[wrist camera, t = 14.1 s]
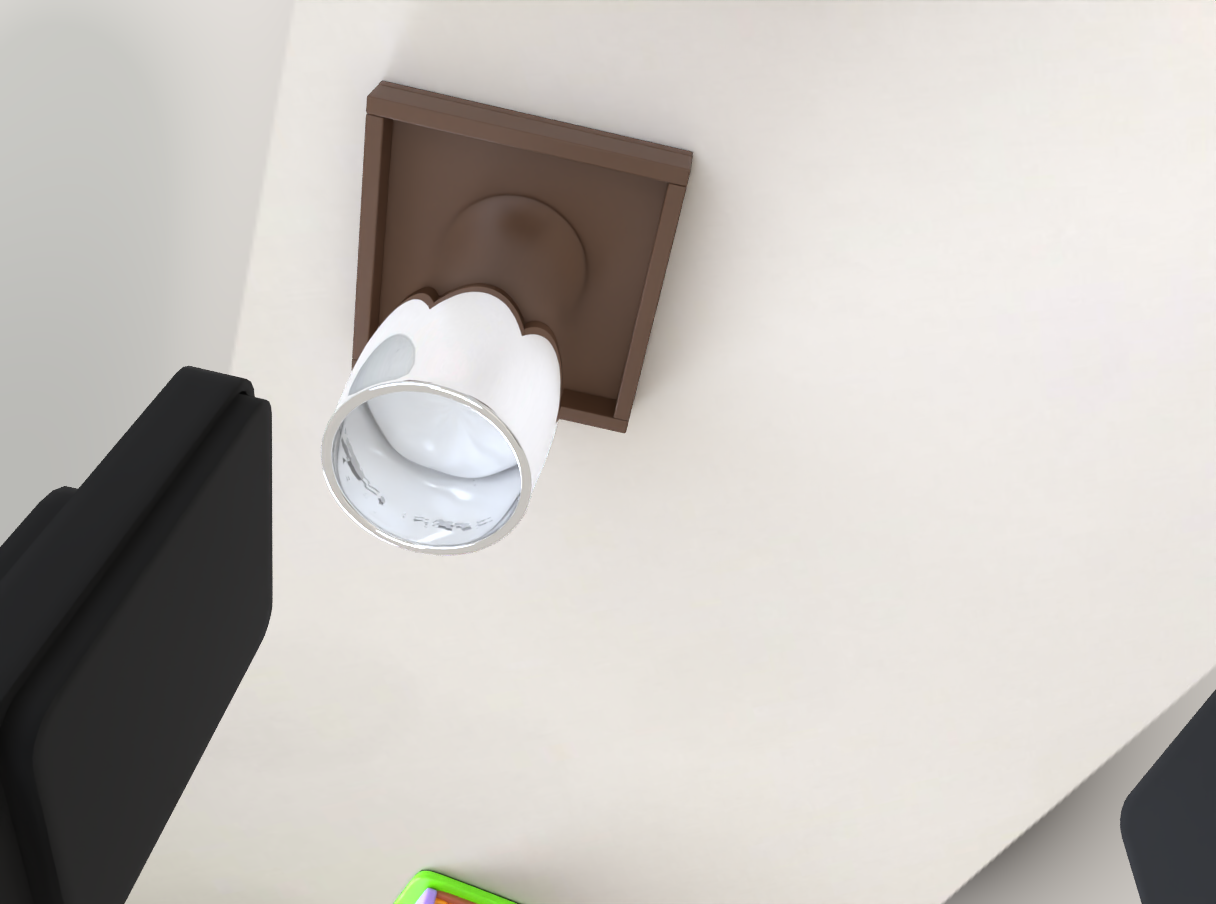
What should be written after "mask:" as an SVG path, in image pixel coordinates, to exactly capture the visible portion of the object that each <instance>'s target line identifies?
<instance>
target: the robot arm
mask: <svg viewBox="0 0 1216 904" xmlns="http://www.w3.org/2000/svg"><path fill="white" fill-rule="evenodd" d="M271 611H272V412H271V405H270V403H269V401H267V400H265V399H260V398H256V397H255V396H254V388H253V386H252V383H251V382H250V381H249V380H247V379H244V378H240V377H236V376H231V375H227V374H222V373H218V372H214V371H209V370H205V369H201V368H196V367H192V366H187V367H183V368H182V369H180V370H179V371H178V372H177V373H176V374H175V375H174V376H173V378H172V379H171V380H170V381H169V382H168V383H167V385H166V386H165V387H164V388H163V389H162V391H161V392H160V393H159V394H158V395H157V396H156V398H155V399H154V400H153V401H152V402H151V404H150V405H149V406H148V407H147V408H146V409H145V411H144V412H143V413H142V414H141V415H140V417H139V418H138V419H137V420H136V421H135V422H134V424H133V425H132V426H131V427H130V428H129V430H128V431H127V432H126V433H125V434H124V436H123V437H122V438H121V439H120V440H119V441H118V443H117V444H116V445H115V446H114V447H113V449H112V450H111V451H110V452H109V453H108V454H107V456H106V457H105V458H104V459H103V460H102V461H101V463H100V464H99V465H98V466H97V468H96V469H95V470H94V471H93V472H92V473H91V474H90V476H89V477H88V478H87V479H86V480H85V482H84V483H83V484H82V485H81V486H80V487H79V489H76V488H71V487H67V486H64V487H61V488H59V489H56V490H53V491H52V492H51V493H50V494H49V495H47V496H46V497H45V498H44V499H43V500H42V501H41V502H39V504H38V505H37V506H36V507H35V508H34V509H33V510H32V512H31V513H30V514H29V515H28V516H27V517H26V518H25V519H24V521H23V522H22V523H21V524H20V525H19V526H18V527H17V529H16V530H15V531H14V532H13V533H12V534H11V536H10V537H9V538H8V539H7V540H6V541H5V542H4V543H3V545H2V546H1V547H0V904H124V903H125V901H126V899H127V898H128V896H129V894H130V892H131V890H132V888H133V886H134V884H135V882H136V880H137V879H138V877H139V875H140V873H141V871H142V869H143V867H144V865H145V863H146V861H147V859H148V858H149V856H150V854H151V852H152V850H153V848H154V846H155V844H156V842H157V840H158V839H159V837H160V835H161V833H162V831H163V829H164V827H165V825H166V823H167V821H168V819H169V818H170V816H171V814H172V812H173V810H174V808H175V806H176V804H177V802H178V800H179V799H180V797H181V795H182V793H183V791H184V789H185V787H186V785H187V783H188V781H189V779H190V778H191V776H192V774H193V772H194V770H195V768H196V766H197V764H198V762H199V760H200V759H201V757H202V755H203V753H204V751H205V749H206V747H207V745H208V743H209V741H210V739H211V738H212V736H213V734H214V732H215V730H216V728H217V726H218V724H219V722H220V720H221V718H222V717H223V715H224V713H225V711H226V709H227V707H228V705H229V703H230V701H231V699H232V698H233V696H234V694H235V692H236V690H237V688H238V686H239V684H240V682H241V680H242V678H243V677H244V675H245V673H246V671H247V669H248V667H249V665H250V663H251V661H252V659H253V658H254V656H255V654H256V652H257V650H258V648H259V646H260V644H261V642H262V640H263V638H264V636H265V633H266V630H267V627H268V624H269V620H270V616H271ZM1120 828H1121V834H1122V839H1123V842H1124V845H1125V849H1126V852H1127V856H1128V859H1129V862H1130V865H1131V869H1132V872H1133V876H1134V879H1135V882H1136V885H1137V889H1138V892H1139V896H1140V899H1141V902H1142V904H1216V690H1215V691H1214V692H1213V693H1212V695H1211V696H1210V697H1209V698H1208V699H1207V701H1206V702H1205V703H1204V704H1203V706H1202V707H1201V708H1200V709H1199V710H1198V712H1197V713H1196V714H1195V715H1194V717H1193V718H1192V719H1191V720H1190V721H1189V723H1188V724H1187V725H1186V726H1185V727H1184V729H1183V730H1182V731H1181V732H1180V733H1179V735H1178V736H1177V737H1176V738H1175V739H1174V741H1173V742H1172V743H1171V744H1170V745H1169V747H1168V748H1167V749H1166V750H1165V751H1164V753H1163V754H1162V755H1161V757H1160V758H1159V759H1158V760H1157V761H1156V762H1155V764H1154V765H1153V766H1152V767H1151V769H1150V770H1149V771H1148V772H1147V773H1146V775H1145V776H1144V777H1143V778H1142V779H1141V781H1140V782H1139V783H1138V784H1137V786H1136V787H1135V788H1134V789H1133V790H1132V791H1131V793H1130V794H1129V795H1128V797H1127V798H1126V800H1125V802H1124V805H1123V808H1122V811H1121V818H1120Z"/></svg>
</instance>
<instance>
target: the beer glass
mask: <svg viewBox="0 0 1216 904" xmlns="http://www.w3.org/2000/svg"><path fill="white" fill-rule="evenodd" d="M585 278H586V259H585V254H584V250H583V247H582V244H581V242H580V240H579V238H578V236H577V234H576V232H575V231H574V229H573V228H572V227H571V225H570V224H569V223H568V222H567V221H566V220H565V219H564V218H563V217H562V216H561V215H560V214H559V213H558V212H556V211H555V210H554V209H552V208H551V207H549V206H547V205H545V204H543V203H541V202H539V201H537V200H534V199H531V198H528V197H523V196H517V195H498V196H492V197H488V198H485V199H482V200H480V201H478V202H476V203H474V204H472V205H471V206H469V207H468V208H466V209H465V210H464V211H463V212H461V213H460V214H459V215H458V216H457V218H456V219H455V220H454V221H453V223H452V224H451V226H450V227H449V229H448V231H447V234H446V236H445V239H444V242H443V246H442V251H441V257H440V265H439V268H438V269H437V270H436V271H435V272H434V273H433V274H432V275H431V276H430V277H428V278H427V279H426V280H425V281H424V282H422V283H421V284H420V285H419V286H418V287H417V288H415V289H414V290H413V291H412V292H411V293H410V294H409V295H407V296H406V297H405V298H404V299H403V300H402V301H401V302H400V303H399V304H398V305H397V306H396V307H395V308H394V309H393V310H392V312H391V313H390V314H389V315H388V316H387V317H386V318H385V319H384V320H383V321H382V323H381V324H380V325H379V327H378V328H377V330H376V331H375V333H374V334H373V336H372V337H371V339H370V340H369V342H368V343H367V345H366V346H365V348H364V349H363V351H362V353H361V355H360V357H359V359H358V361H357V363H356V364H355V366H354V368H353V370H352V372H351V374H350V376H349V379H348V381H347V383H346V385H345V388H344V390H343V392H342V395H341V397H340V399H339V402H338V404H337V407H336V409H335V412H334V414H333V416H332V417H331V419H330V421H329V422H328V424H327V427H326V429H325V432H324V435H323V439H322V445H321V461H322V468H323V472H324V475H325V478H326V481H327V484H328V486H329V488H330V490H331V492H332V494H333V495H334V497H335V498H336V500H337V501H338V503H339V504H340V506H341V507H342V508H343V509H344V510H345V512H346V513H347V514H348V515H349V516H350V517H351V518H352V519H353V520H354V521H355V522H357V523H358V524H359V525H360V526H361V527H363V528H364V529H365V530H367V531H368V532H370V533H371V534H373V535H375V536H376V537H378V538H380V539H382V540H384V541H386V542H388V543H390V544H392V545H395V546H397V547H400V548H403V549H406V550H409V551H413V552H417V553H422V554H429V555H442V556H449V555H461V554H467V553H472V552H475V551H479V550H482V549H484V548H487V547H489V546H491V545H493V544H495V543H497V542H499V541H500V540H502V539H503V538H505V537H506V536H507V535H508V534H509V533H511V532H512V531H513V530H514V529H515V527H516V526H517V525H518V524H519V522H520V521H521V520H522V518H523V516H524V514H525V513H526V510H527V508H528V505H529V502H530V498H531V495H532V492H533V490H534V488H535V485H536V483H537V481H538V479H539V476H540V474H541V471H542V469H543V466H544V464H545V462H546V459H547V456H548V454H549V451H550V448H551V445H552V442H553V438H554V435H555V432H556V429H557V425H558V420H559V415H560V411H561V406H562V401H563V388H564V344H563V320H564V319H565V318H566V317H567V315H568V314H569V313H570V311H571V310H572V309H573V307H574V306H575V305H576V303H577V301H578V299H579V297H580V295H581V293H582V290H583V287H584V283H585Z"/></svg>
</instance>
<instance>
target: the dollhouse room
mask: <svg viewBox="0 0 1216 904" xmlns="http://www.w3.org/2000/svg"><path fill="white" fill-rule="evenodd" d="M394 904H517V903H514V902H512V901H509V900H507V899H504V898H502V897H499V896H496V895H494V894H491V893H489V892H486V891H483V890H481V889H478V888H476V887H473V886H470V885H468V884H465V883H462V882H460V881H457V880H454V879H452V878H449V877H446V876H444V875H441V874H438V873H435V872H431V871H421V872H419V873H418V874H416V875H415V876H414V878H413V879H412V880H411V881H410V883H409V884H408V885H407V887H406V888H405V889H404V891H403V892H402V893H401V895H400V896H399V897H398V899H397V900H396V901H395V903H394Z"/></svg>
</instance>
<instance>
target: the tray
mask: <svg viewBox="0 0 1216 904" xmlns="http://www.w3.org/2000/svg"><path fill="white" fill-rule="evenodd" d="M366 112H367V115H366V125H365V143H364V161H363V178H362V196H361V214H360V231H359V249H358V267H357V284H356V302H355V320H354V337H353V355H352V357H353V359H352V370H353V368H354V366H355V364H356V363H357V361H358V359H359V357H360V355H361V353H362V351H363V349H364V348H365V346H366V345H367V343H368V342H369V340H370V339H371V337H372V336H373V334H374V333H375V331H376V330H377V328H378V327H379V325H380V324H381V323H382V321H383V320H384V319H385V318H386V317H387V316H388V315H389V314H390V313H391V312H392V310H393V309H394V308H395V307H396V306H397V305H398V304H399V303H400V302H401V301H402V300H403V299H404V298H405V297H406V296H407V295H409V294H410V293H411V292H412V291H413V290H414V289H415V288H417V287H418V286H419V285H420V284H421V283H422V282H424V281H425V280H426V279H427V278H428V277H430V276H431V275H432V274H433V273H434V272H435V271H436V270H437V269H438V268H439V265H440V257H441V251H442V246H443V242H444V239H445V236H446V234H447V231H448V229H449V227H450V226H451V224H452V223H453V221H454V220H455V219H456V218H457V216H458V215H459V214H460V213H461V212H463V211H464V210H465V209H466V208H468V207H469V206H471V205H472V204H474V203H476V202H478V201H480V200H482V199H485V198H488V197H492V196H498V195H517V196H523V197H528V198H531V199H534V200H537V201H539V202H541V203H543V204H545V205H547V206H549V207H551V208H552V209H554V210H555V211H556V212H558V213H559V214H560V215H561V216H562V217H563V218H564V219H565V220H566V221H567V222H568V223H569V224H570V225H571V227H572V228H573V229H574V231H575V232H576V234H577V236H578V238H579V240H580V242H581V244H582V247H583V250H584V254H585V259H586V278H585V283H584V287H583V290H582V293H581V295H580V297H579V299H578V301H577V303H576V305H575V306H574V307H573V309H572V310H571V311H570V313H569V314H568V315H567V317H566V318H565V319H564V320H563V344H564V388H563V401H562V406H561V411H560V415H559V419H563V420H567V421H572V422H576V423H581V424H585V425H590V426H594V427H599V428H603V429H608V430H612V431H616V432H621V433H625V432H626V430H627V426H628V421H629V418H630V414H631V409H632V405H633V401H634V397H635V393H636V389H637V385H638V381H639V377H640V373H641V369H642V365H643V361H644V357H645V353H646V349H647V345H648V341H649V337H650V333H651V329H652V325H653V321H654V317H655V313H656V308H657V304H658V300H659V296H660V292H661V288H662V284H663V280H664V276H665V272H666V268H667V264H668V260H669V256H670V252H671V248H672V244H673V240H674V236H675V232H676V228H677V224H678V220H679V216H680V212H681V207H682V203H683V199H684V195H685V191H686V186H687V183H688V179H689V175H690V171H691V164H692V157H693V152H691V151H686V150H682V149H678V148H673V147H669V146H665V145H660V144H656V143H652V142H647V141H643V140H638V139H634V138H630V137H625V136H621V135H617V134H612V133H608V132H604V131H599V130H595V129H591V128H586V127H582V126H577V125H573V124H569V123H564V122H560V121H556V120H551V119H547V118H543V117H538V116H534V115H530V114H525V113H521V112H517V111H512V110H508V109H503V108H499V107H495V106H490V105H486V104H482V103H477V102H473V101H469V100H464V99H460V98H456V97H451V96H447V95H442V94H438V93H434V92H429V91H425V90H421V89H416V88H412V87H408V86H403V85H399V84H395V83H390V82H386V81H381V82H380V83H379V85H378V86H377V87H376V88H375V89H374V90H373V91H372V92H371V93H370V94H369V95H368V96H367V107H366Z"/></svg>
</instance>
